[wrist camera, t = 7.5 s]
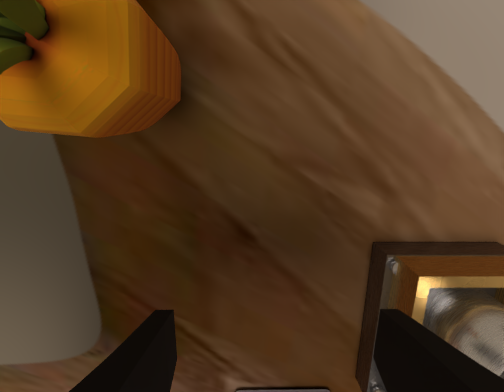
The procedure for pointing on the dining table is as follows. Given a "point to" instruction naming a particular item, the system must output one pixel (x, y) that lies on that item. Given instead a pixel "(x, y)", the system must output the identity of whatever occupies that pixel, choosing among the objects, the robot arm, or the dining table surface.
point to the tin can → (468, 324)
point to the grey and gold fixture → (421, 285)
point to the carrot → (84, 67)
